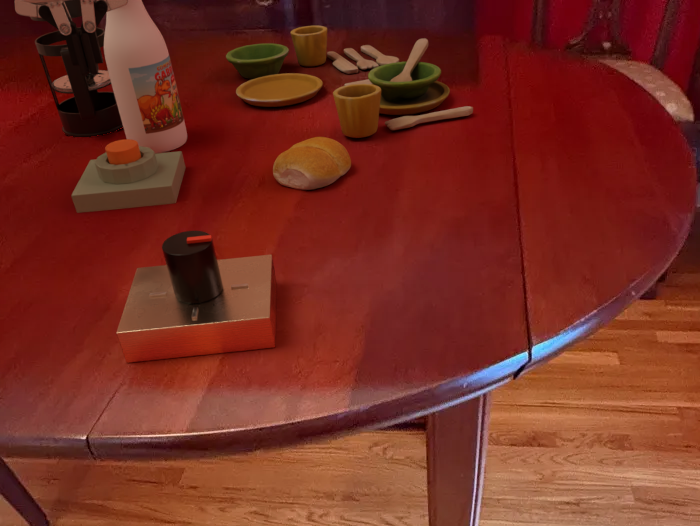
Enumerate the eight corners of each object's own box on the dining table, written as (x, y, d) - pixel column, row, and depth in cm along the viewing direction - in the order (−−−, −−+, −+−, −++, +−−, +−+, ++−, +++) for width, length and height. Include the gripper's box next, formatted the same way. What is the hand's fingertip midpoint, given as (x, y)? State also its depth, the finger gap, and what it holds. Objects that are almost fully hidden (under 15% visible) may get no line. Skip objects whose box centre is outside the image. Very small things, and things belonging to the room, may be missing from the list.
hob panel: (126, 363, 58) (115, 331, 56) (145, 296, 66) (136, 266, 64) (275, 347, 58) (269, 315, 56) (276, 282, 66) (271, 252, 64)
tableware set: (483, 118, 95) (485, 68, 91) (279, 160, 88) (272, 108, 84) (373, 45, 126) (370, 5, 122) (215, 72, 119) (208, 31, 115)
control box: (77, 213, 80) (65, 179, 78) (95, 176, 88) (85, 145, 86) (176, 204, 81) (167, 170, 78) (185, 168, 89) (178, 136, 86)
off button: (106, 167, 81) (102, 152, 80) (112, 155, 84) (108, 140, 82) (138, 164, 81) (134, 149, 80) (143, 152, 84) (139, 137, 83)
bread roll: (361, 164, 86) (359, 131, 83) (323, 196, 80) (319, 161, 77) (303, 155, 89) (299, 123, 87) (262, 185, 83) (256, 151, 81)
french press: (65, 118, 106) (6, -62, 92) (131, 109, 107) (82, -71, 93) (59, 147, 97) (-7, -48, 83) (130, 136, 98) (77, -58, 84)
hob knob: (172, 306, 59) (157, 254, 56) (177, 280, 62) (164, 229, 59) (221, 300, 59) (209, 248, 56) (224, 275, 62) (213, 224, 59)
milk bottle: (128, 159, 92) (79, -16, 80) (130, 138, 98) (85, -28, 85) (189, 150, 93) (150, -24, 80) (188, 130, 99) (151, -35, 86)
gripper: (120, -149, 69) (161, 55, 80) (-48, -139, 66) (19, 70, 77) (119, -145, 63) (164, 73, 74) (-64, -135, 60) (11, 91, 72)
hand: (90, 71), depth 76 cm, fingers closed
